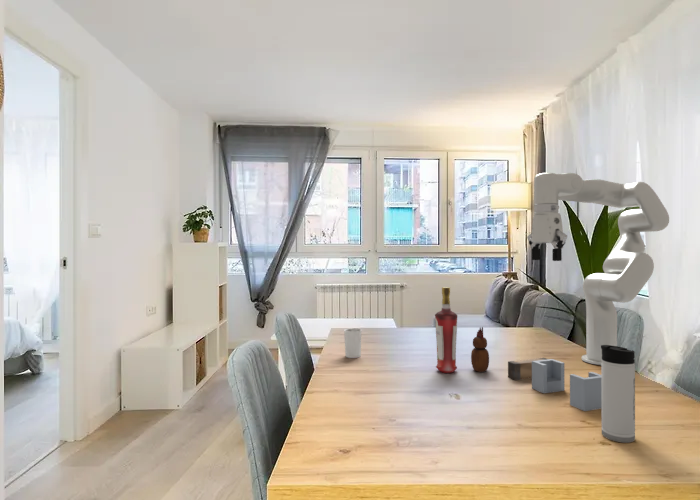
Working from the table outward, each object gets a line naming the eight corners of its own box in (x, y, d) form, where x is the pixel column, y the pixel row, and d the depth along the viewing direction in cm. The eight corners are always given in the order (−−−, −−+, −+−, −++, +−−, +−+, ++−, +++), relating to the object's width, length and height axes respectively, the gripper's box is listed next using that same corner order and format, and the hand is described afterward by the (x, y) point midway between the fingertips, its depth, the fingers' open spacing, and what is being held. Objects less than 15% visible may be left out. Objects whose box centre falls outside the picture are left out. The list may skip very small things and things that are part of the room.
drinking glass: (362, 354, 173) (362, 328, 173) (361, 358, 166) (360, 331, 166) (345, 353, 174) (345, 328, 173) (343, 358, 167) (343, 331, 167)
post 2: (584, 411, 112) (584, 379, 112) (569, 404, 116) (569, 374, 116) (607, 407, 114) (607, 376, 114) (592, 401, 119) (591, 371, 119)
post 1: (552, 385, 132) (552, 358, 132) (564, 390, 128) (564, 362, 128) (531, 388, 130) (531, 361, 130) (543, 393, 126) (543, 365, 125)
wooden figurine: (490, 373, 145) (489, 328, 145) (471, 372, 146) (471, 327, 146) (488, 368, 152) (487, 324, 152) (470, 367, 153) (470, 323, 153)
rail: (508, 377, 141) (508, 361, 141) (543, 372, 146) (543, 357, 146) (515, 380, 138) (515, 364, 138) (551, 375, 142) (551, 360, 142)
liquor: (433, 368, 152) (433, 286, 152) (455, 368, 152) (454, 286, 152) (437, 374, 145) (436, 288, 145) (459, 374, 145) (459, 288, 144)
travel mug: (593, 431, 100) (593, 342, 100) (621, 430, 100) (621, 342, 100) (612, 443, 94) (612, 349, 93) (642, 442, 94) (641, 348, 94)
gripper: (575, 208, 144) (575, 261, 144) (537, 212, 160) (537, 259, 160) (556, 207, 141) (556, 261, 141) (519, 211, 158) (520, 259, 158)
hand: (546, 260), depth 151 cm, fingers open, 9 cm apart
